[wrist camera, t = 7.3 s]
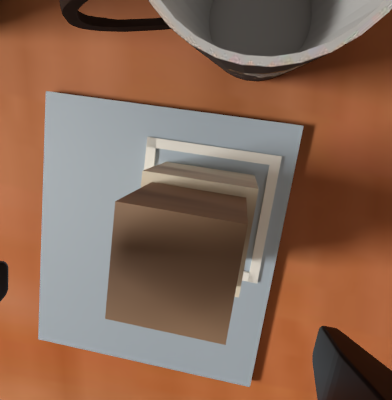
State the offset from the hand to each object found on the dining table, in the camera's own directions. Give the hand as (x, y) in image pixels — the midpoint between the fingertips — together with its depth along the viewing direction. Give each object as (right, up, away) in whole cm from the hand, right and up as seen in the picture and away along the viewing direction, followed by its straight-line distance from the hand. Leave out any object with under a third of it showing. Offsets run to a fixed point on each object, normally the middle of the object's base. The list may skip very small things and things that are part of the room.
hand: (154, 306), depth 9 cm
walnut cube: (+1, +1, +6) cm, 7 cm away
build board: (-2, 0, +13) cm, 13 cm away
